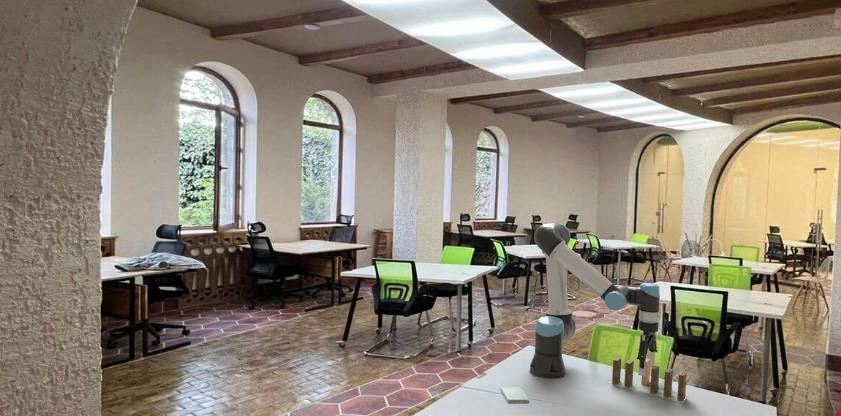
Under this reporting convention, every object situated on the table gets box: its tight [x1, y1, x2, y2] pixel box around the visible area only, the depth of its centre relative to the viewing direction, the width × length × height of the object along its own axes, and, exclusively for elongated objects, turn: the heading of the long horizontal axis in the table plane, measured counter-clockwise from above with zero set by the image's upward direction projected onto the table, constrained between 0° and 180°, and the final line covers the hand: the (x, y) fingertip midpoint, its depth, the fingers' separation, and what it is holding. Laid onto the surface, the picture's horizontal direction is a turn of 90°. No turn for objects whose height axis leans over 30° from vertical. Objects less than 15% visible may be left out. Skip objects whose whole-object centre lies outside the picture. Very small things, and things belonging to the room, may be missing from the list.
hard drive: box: [499, 386, 530, 404], centre depth 205 cm, size 2×8×12 cm
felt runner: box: [607, 379, 688, 404], centre depth 215 cm, size 29×8×1 cm, turn 52°
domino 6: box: [677, 371, 688, 402], centre depth 206 cm, size 2×5×10 cm, turn 142°
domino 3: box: [640, 357, 651, 386], centre depth 222 cm, size 2×5×10 cm, turn 142°
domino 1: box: [611, 356, 622, 386], centre depth 221 cm, size 2×5×10 cm, turn 142°
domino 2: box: [624, 359, 635, 389], centre depth 218 cm, size 2×5×10 cm, turn 142°
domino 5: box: [663, 368, 674, 398], centre depth 209 cm, size 2×5×10 cm, turn 142°
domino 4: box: [649, 365, 660, 395], centre depth 212 cm, size 2×5×10 cm, turn 142°
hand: (646, 371), depth 222 cm, fingers open, 13 cm apart
